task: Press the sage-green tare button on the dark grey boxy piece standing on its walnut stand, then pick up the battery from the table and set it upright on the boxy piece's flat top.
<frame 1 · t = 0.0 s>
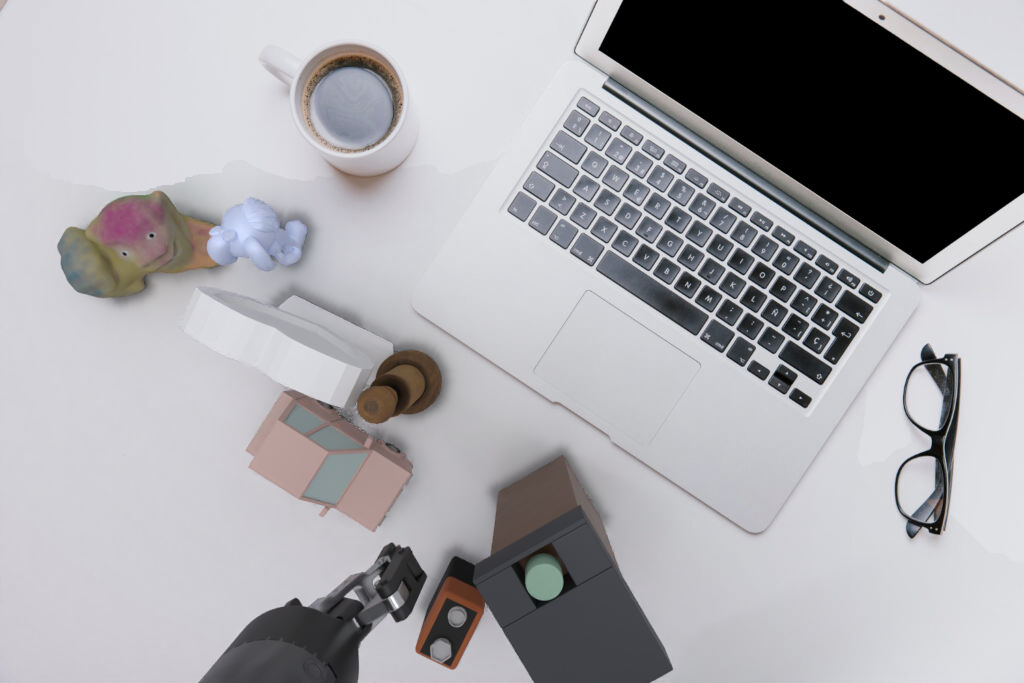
hand: (348, 582, 51), 20 cm above the table, tool pointing down, fingers open, 8 cm apart
dark grey boxy piece: (561, 591, 50), on the table
toy car: (342, 451, 71), on the table
sculpture: (155, 250, 70), on the table
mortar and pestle: (411, 380, 70), on the table, touching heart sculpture
toy figurine: (282, 241, 70), on the table
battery: (458, 588, 72), on the table
tare button: (543, 576, 47), point 24 cm above the table, slide at 0.1 cm
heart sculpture: (333, 340, 70), on the table, touching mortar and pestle
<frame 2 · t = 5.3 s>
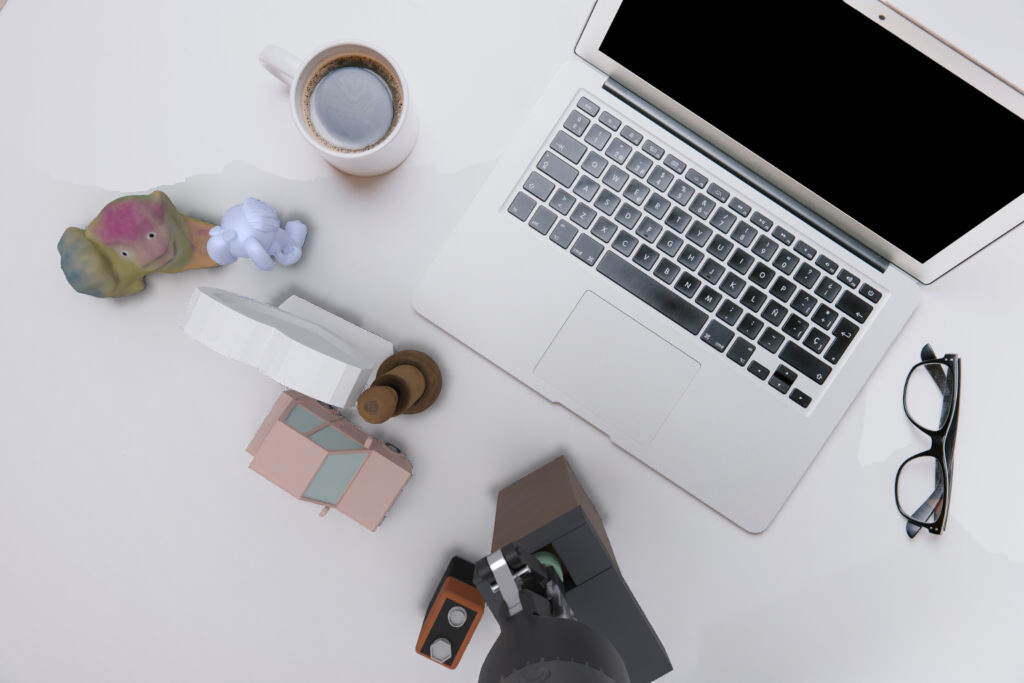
hand: (544, 580, 46), 25 cm above the table, tool pointing down, fingers closed
tare button: (543, 574, 47), point 24 cm above the table, slide at -0.3 cm, touching gripper
everything else where it was.
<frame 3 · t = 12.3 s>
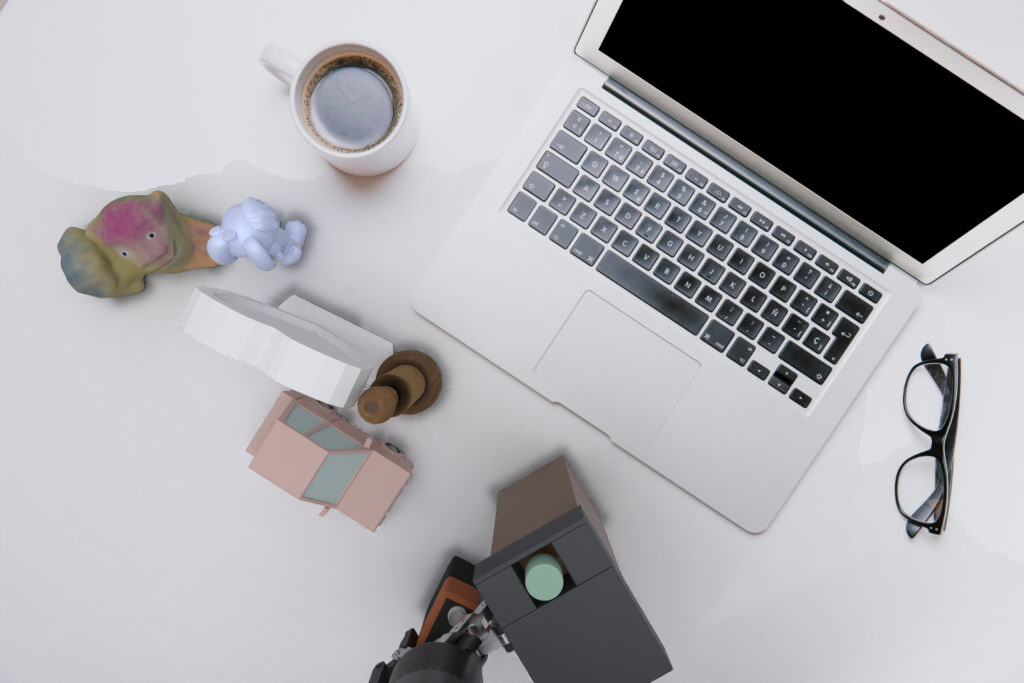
hand: (452, 616, 65), 6 cm above the table, tool pointing down, fingers closed on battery, 8 cm apart
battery: (458, 588, 72), on the table, touching gripper
tare button: (543, 576, 47), point 24 cm above the table, slide at 0.1 cm
everything else where it was.
when the fingers open (30 cm above the table, at t = 19.4 s): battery stays where it is, resting on dark grey boxy piece.
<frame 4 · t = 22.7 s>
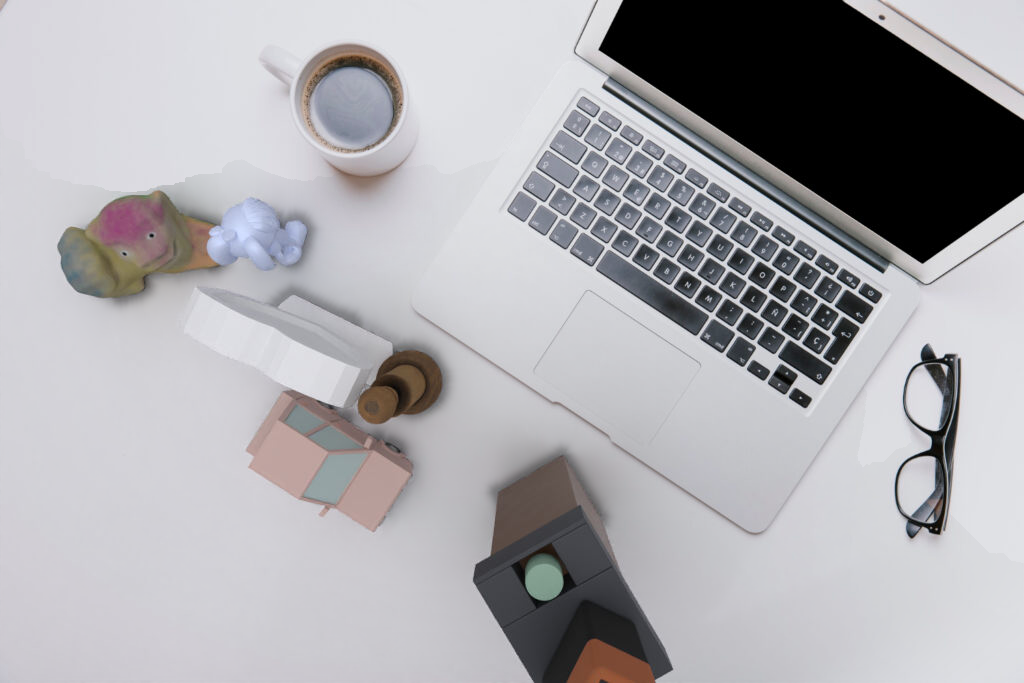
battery: (588, 649, 47), point 24 cm above the table, touching dark grey boxy piece
everything else where it was.
at the end: tare button pushed in 0.6 cm at the most during the clip, back to where it started at the end; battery inside the target area on the dark grey boxy piece (0.1 cm from its centre), point 2.8 cm above the dark grey boxy piece's base; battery tilted 0° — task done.
